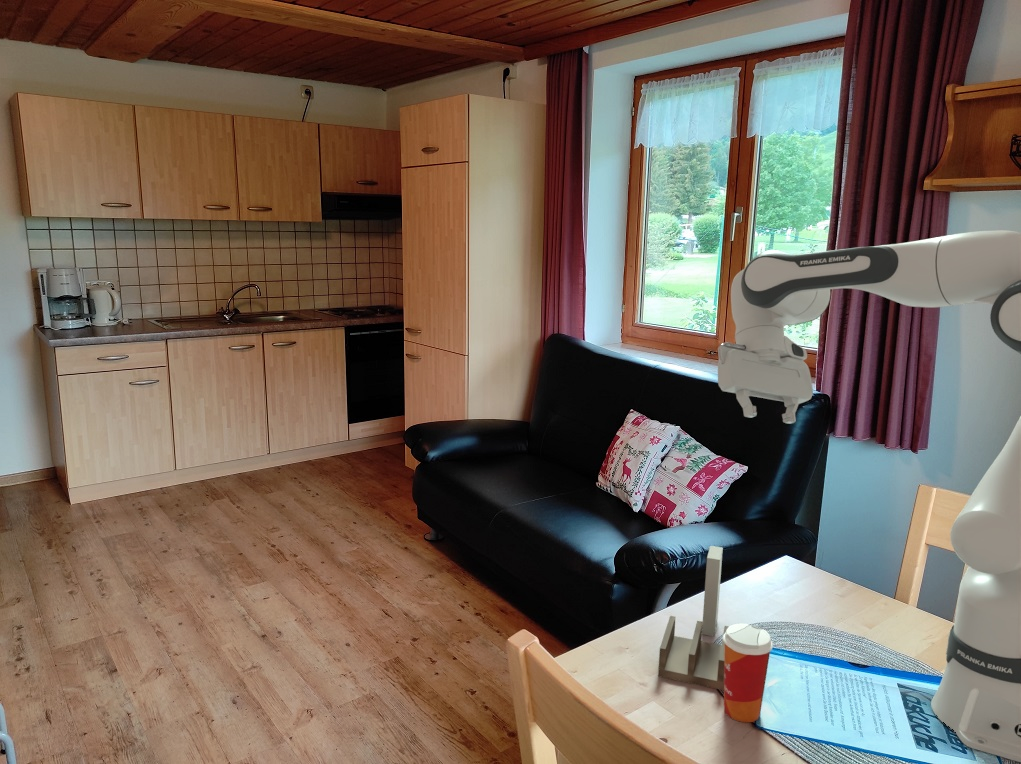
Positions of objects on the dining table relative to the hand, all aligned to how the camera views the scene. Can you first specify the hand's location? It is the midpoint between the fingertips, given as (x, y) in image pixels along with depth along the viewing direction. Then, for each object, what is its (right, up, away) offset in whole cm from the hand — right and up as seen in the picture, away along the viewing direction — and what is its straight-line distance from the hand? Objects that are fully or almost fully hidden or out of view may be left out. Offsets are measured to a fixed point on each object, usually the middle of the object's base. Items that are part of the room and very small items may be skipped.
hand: (770, 419), depth 137 cm
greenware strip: (-8, -42, +12) cm, 44 cm away
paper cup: (-9, -47, -13) cm, 50 cm away
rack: (-12, -45, -1) cm, 46 cm away
